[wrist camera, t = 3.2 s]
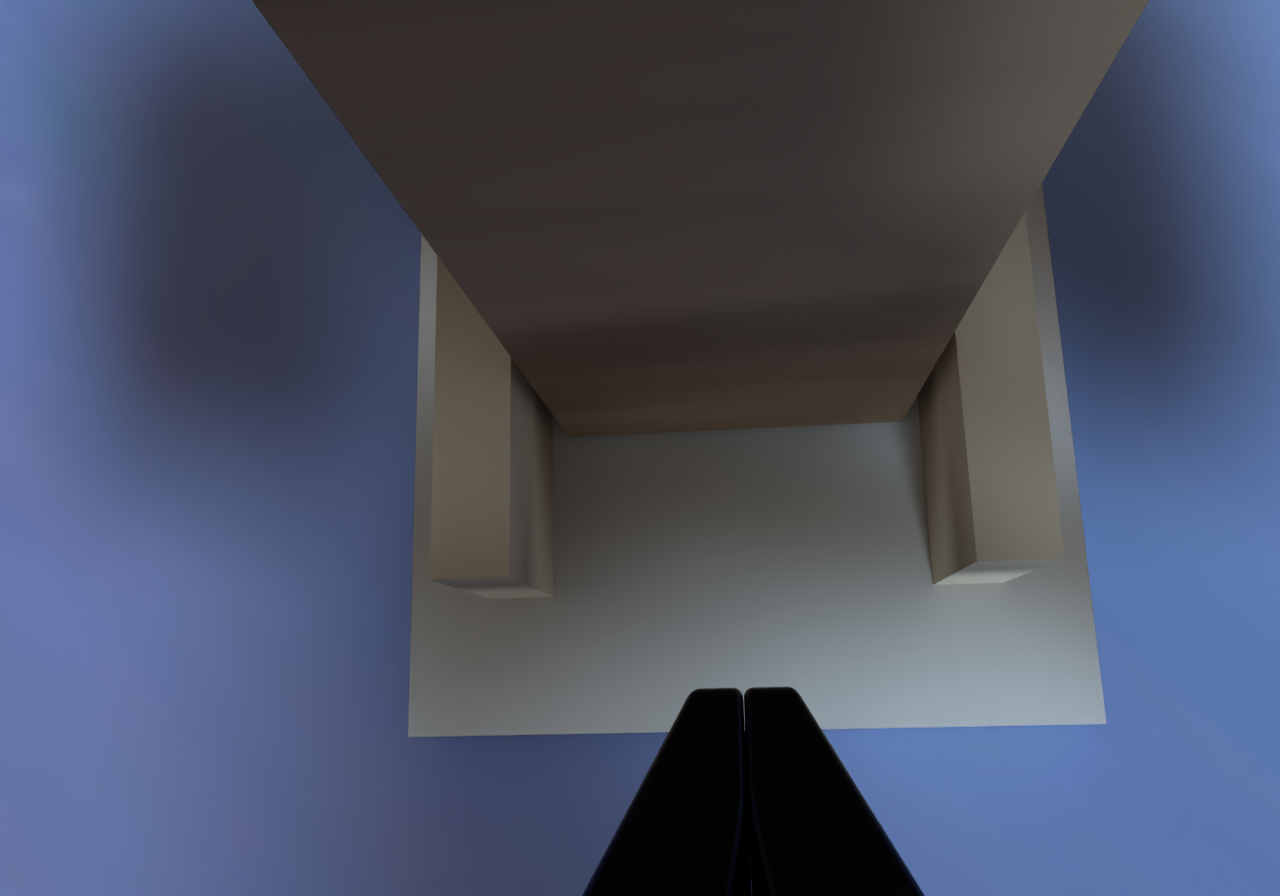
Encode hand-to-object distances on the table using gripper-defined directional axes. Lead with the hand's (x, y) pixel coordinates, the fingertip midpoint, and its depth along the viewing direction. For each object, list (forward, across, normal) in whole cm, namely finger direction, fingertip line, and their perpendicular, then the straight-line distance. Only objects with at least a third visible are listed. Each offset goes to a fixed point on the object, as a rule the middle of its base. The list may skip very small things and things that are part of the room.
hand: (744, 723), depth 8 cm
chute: (+12, 0, -1) cm, 12 cm away
